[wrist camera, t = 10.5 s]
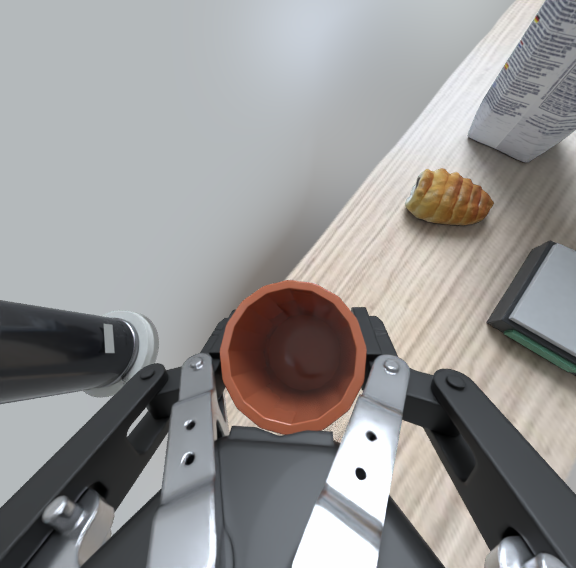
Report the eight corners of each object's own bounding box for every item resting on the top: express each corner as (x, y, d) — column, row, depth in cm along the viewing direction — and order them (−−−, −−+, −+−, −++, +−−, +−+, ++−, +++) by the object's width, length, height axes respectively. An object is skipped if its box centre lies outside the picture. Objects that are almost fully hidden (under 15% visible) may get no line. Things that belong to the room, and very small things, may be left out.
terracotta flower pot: (294, 412, 15) (268, 471, 8) (251, 340, 17) (197, 332, 10) (362, 362, 16) (400, 371, 8) (312, 297, 18) (305, 255, 10)
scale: (578, 382, 21) (614, 386, 19) (484, 325, 24) (504, 322, 22) (625, 293, 23) (664, 285, 20) (532, 249, 26) (555, 237, 23)
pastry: (488, 195, 28) (512, 173, 25) (475, 239, 27) (498, 222, 24) (414, 178, 31) (426, 155, 27) (398, 217, 30) (409, 198, 26)
